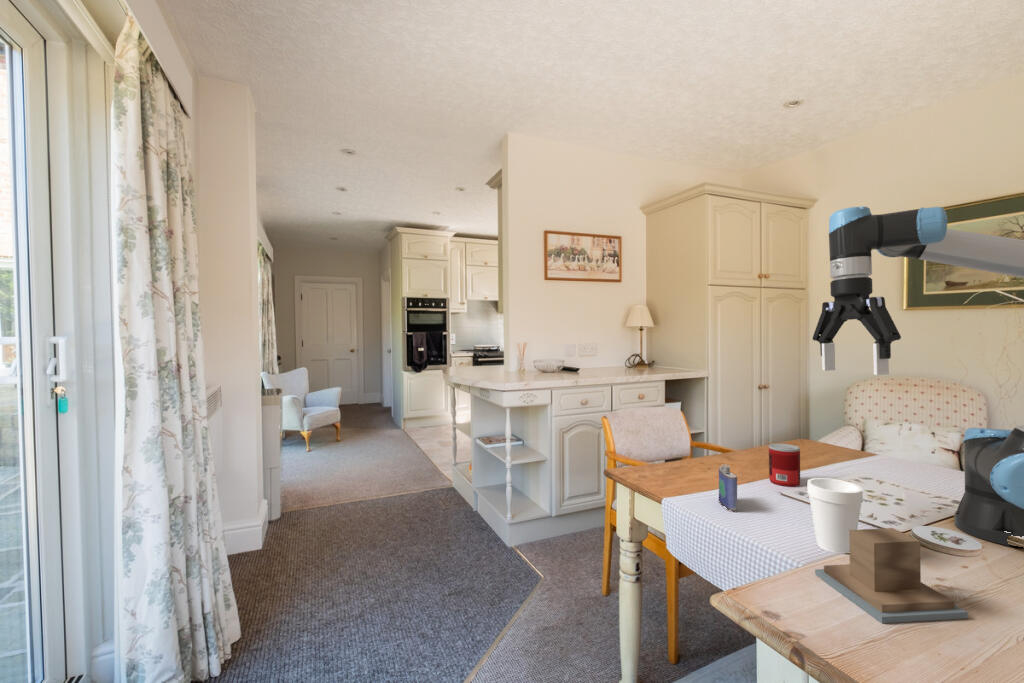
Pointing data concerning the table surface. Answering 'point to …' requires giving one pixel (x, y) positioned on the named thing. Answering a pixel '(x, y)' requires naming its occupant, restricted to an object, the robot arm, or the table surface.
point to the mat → (893, 616)
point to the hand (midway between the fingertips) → (853, 372)
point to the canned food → (784, 465)
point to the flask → (727, 488)
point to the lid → (887, 572)
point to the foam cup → (834, 511)
